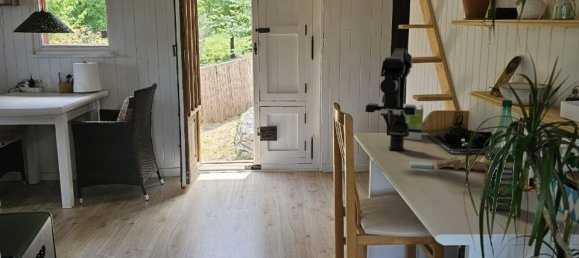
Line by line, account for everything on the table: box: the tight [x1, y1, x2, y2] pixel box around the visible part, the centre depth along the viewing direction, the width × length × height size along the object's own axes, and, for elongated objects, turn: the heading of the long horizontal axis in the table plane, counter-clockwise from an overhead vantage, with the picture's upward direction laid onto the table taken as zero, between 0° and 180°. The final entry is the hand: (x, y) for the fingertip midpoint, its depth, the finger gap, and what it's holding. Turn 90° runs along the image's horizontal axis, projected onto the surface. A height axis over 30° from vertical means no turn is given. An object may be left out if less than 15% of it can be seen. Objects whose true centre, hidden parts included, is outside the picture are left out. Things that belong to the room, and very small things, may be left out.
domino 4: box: [468, 160, 486, 170], centre depth 204 cm, size 5×2×8 cm
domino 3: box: [452, 154, 477, 170], centre depth 206 cm, size 5×2×8 cm
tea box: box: [403, 103, 424, 141], centre depth 260 cm, size 15×10×15 cm
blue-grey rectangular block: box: [409, 160, 433, 169], centre depth 209 cm, size 5×2×8 cm
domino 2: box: [436, 156, 459, 169], centre depth 207 cm, size 5×2×8 cm
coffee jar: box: [479, 146, 514, 212], centre depth 162 cm, size 10×8×19 cm
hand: (389, 131), depth 211 cm, fingers closed
